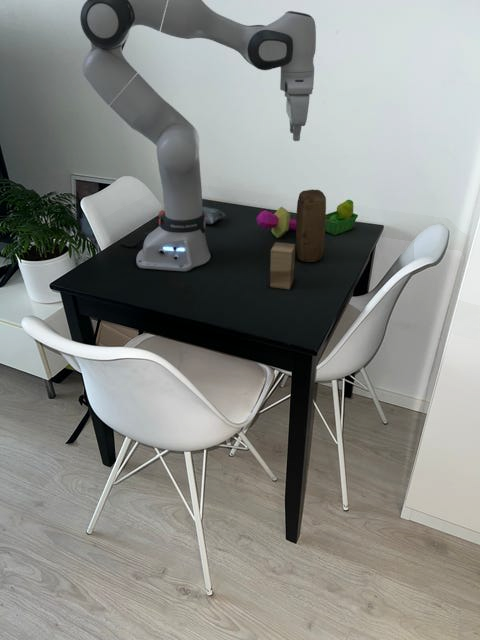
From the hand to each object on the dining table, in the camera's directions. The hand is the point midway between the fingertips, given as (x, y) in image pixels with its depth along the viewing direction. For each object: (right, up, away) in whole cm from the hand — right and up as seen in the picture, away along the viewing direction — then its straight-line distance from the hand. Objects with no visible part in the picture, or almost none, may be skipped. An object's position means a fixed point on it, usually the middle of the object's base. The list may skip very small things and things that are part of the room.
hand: (294, 136), depth 142 cm
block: (+5, -32, +13) cm, 35 cm away
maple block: (-4, -41, -2) cm, 42 cm away
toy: (-2, -23, +28) cm, 36 cm away
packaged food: (-28, -17, +38) cm, 50 cm away
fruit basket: (+18, -21, +30) cm, 41 cm away
